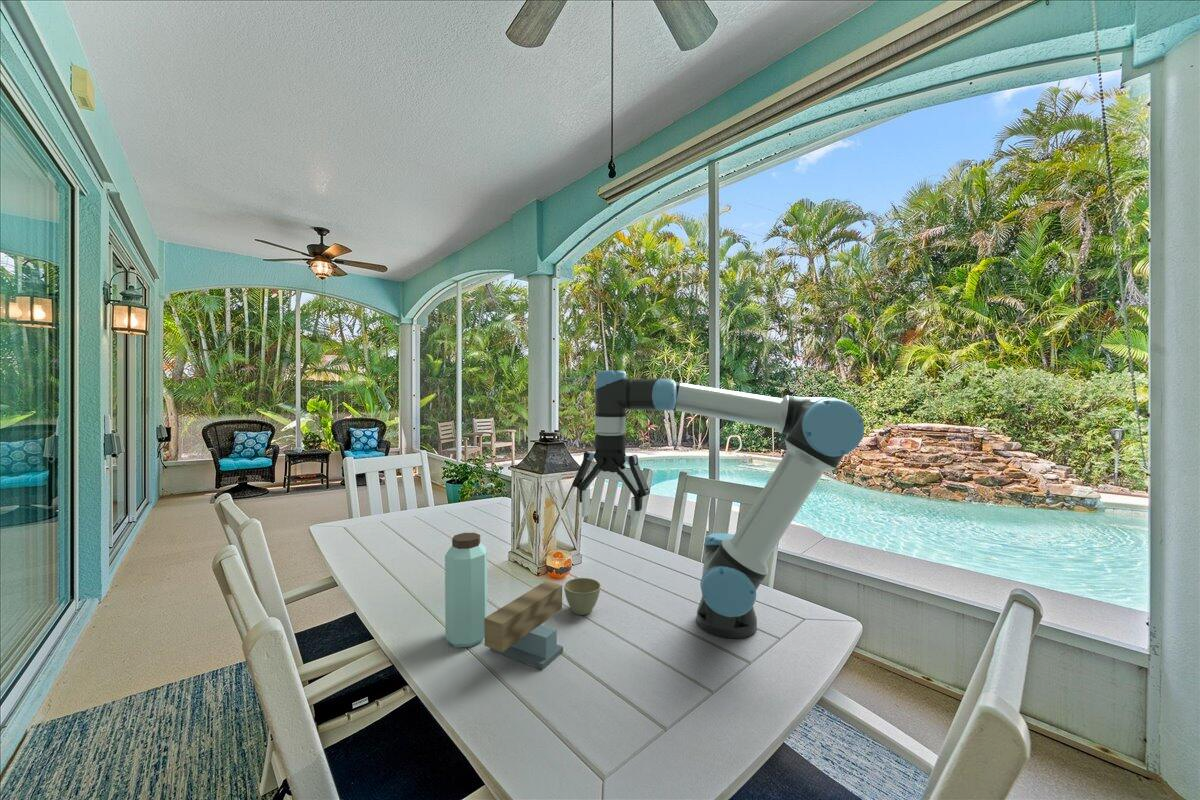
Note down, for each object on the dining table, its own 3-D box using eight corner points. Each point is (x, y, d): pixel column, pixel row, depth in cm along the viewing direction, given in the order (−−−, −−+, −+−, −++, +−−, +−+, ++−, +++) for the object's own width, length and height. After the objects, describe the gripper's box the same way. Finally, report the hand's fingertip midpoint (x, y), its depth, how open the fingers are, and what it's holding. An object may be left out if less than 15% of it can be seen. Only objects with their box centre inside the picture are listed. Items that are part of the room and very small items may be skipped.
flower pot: (596, 621, 123) (596, 594, 123) (559, 617, 125) (559, 591, 125) (603, 604, 133) (603, 579, 133) (569, 600, 135) (569, 576, 135)
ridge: (563, 651, 110) (563, 626, 109) (542, 669, 103) (542, 642, 102) (512, 634, 117) (512, 610, 117) (490, 650, 110) (490, 624, 110)
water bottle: (449, 654, 108) (448, 546, 107) (441, 633, 117) (441, 533, 116) (492, 643, 113) (492, 539, 112) (482, 624, 122) (482, 528, 121)
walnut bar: (545, 604, 120) (546, 580, 120) (562, 608, 118) (562, 585, 118) (484, 645, 101) (484, 618, 101) (502, 652, 99) (502, 624, 98)
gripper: (663, 435, 113) (662, 523, 113) (575, 429, 125) (574, 509, 126) (651, 438, 106) (650, 531, 107) (559, 432, 118) (558, 515, 119)
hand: (609, 519), depth 116 cm, fingers open, 13 cm apart
